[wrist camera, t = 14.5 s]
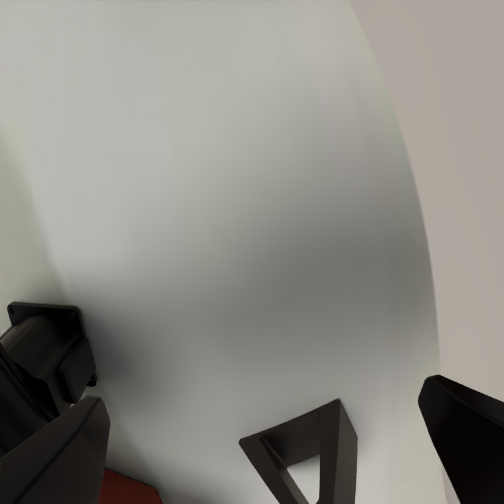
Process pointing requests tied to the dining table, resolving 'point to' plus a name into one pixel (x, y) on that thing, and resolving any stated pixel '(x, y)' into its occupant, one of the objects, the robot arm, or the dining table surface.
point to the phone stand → (308, 454)
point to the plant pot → (125, 491)
